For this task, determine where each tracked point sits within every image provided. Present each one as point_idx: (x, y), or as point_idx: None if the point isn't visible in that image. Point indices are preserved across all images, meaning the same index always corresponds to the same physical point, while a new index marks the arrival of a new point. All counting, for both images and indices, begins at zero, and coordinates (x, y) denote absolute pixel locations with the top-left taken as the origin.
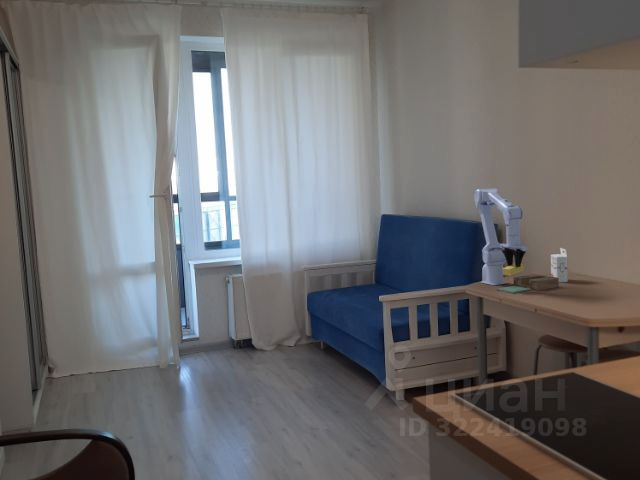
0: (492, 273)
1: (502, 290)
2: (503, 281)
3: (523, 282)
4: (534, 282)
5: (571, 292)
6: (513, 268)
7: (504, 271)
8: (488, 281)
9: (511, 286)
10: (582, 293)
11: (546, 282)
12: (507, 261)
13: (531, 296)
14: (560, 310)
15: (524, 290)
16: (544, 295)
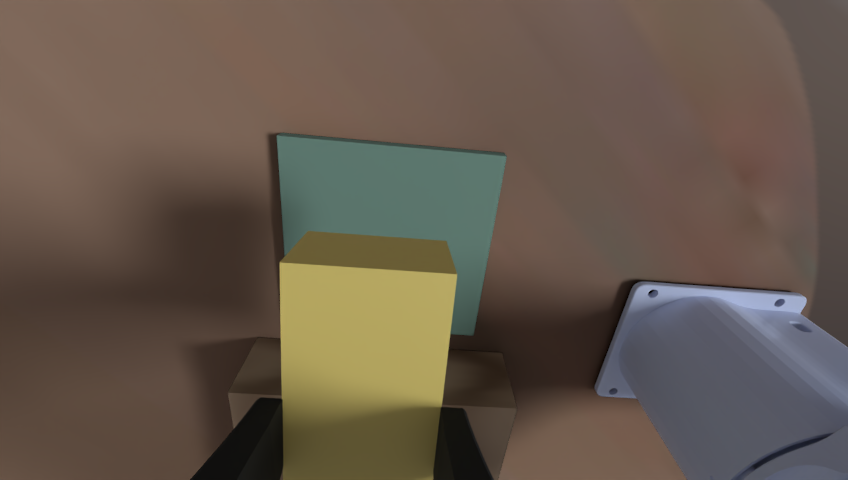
0: (735, 364)
1: (422, 146)
2: (626, 381)
3: None
4: (263, 382)
5: (78, 415)
6: (283, 346)
7: (408, 253)
8: (727, 305)
9: (469, 305)
10: (17, 429)
11: None
12: (462, 467)
13: (74, 144)
14: None
15: None
16: (64, 245)
